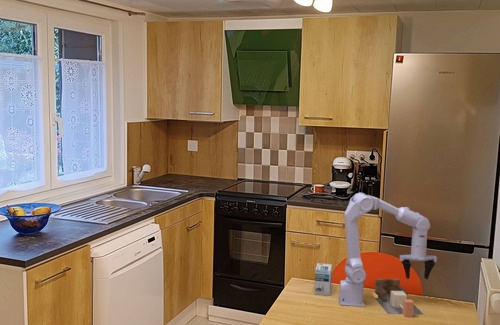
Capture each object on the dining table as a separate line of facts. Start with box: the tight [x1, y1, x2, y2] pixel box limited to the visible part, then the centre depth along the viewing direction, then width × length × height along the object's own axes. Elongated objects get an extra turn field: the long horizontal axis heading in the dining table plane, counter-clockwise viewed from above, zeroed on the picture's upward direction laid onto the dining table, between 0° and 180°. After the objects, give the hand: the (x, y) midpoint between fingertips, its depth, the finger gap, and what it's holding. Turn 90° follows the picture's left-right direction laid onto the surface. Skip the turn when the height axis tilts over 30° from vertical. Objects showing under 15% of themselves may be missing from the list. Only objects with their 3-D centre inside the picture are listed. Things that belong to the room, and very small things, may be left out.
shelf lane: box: [374, 278, 424, 315], centre depth 217 cm, size 14×25×6 cm, turn 3°
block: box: [390, 291, 415, 318], centre depth 209 cm, size 5×15×6 cm, turn 3°
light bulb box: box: [314, 262, 333, 296], centre depth 229 cm, size 11×7×11 cm, turn 168°
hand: (416, 278), depth 217 cm, fingers open, 7 cm apart
